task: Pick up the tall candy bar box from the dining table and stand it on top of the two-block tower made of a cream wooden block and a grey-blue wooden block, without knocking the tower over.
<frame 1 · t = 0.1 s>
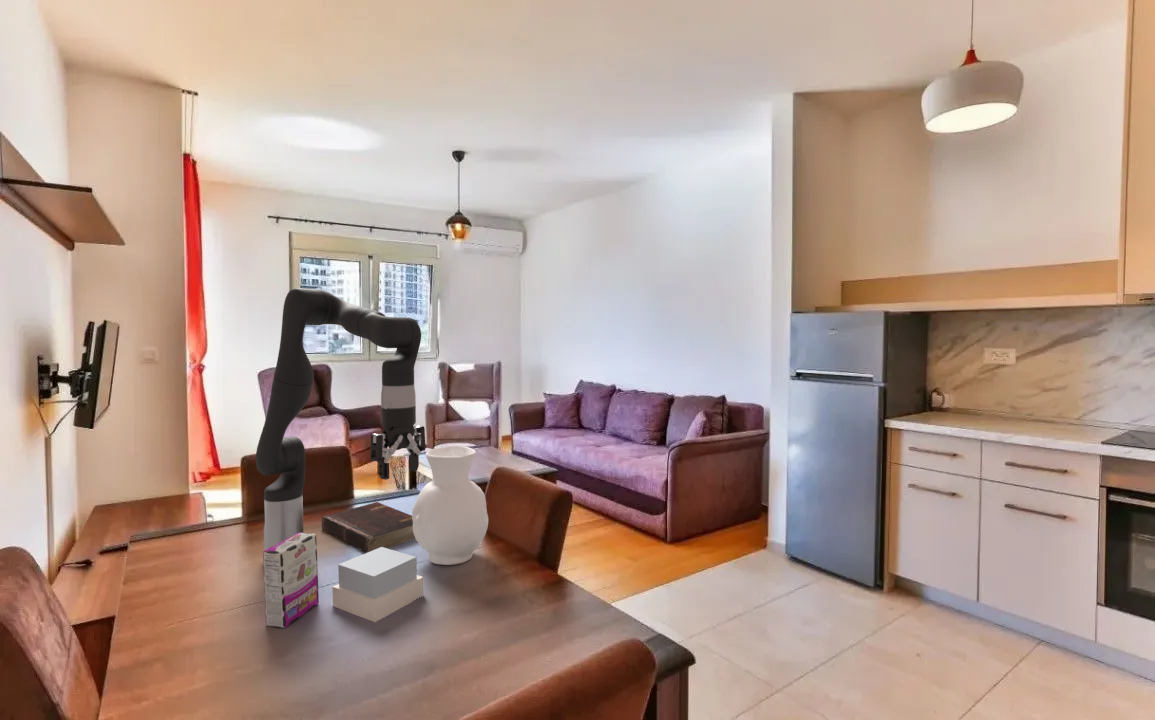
hand: (399, 474, 127), 29 cm above the table, tool pointing down, fingers open, 8 cm apart
hardback book: (373, 534, 172), on the table
vase: (451, 560, 151), on the table
candy bar box: (292, 615, 121), on the table
lower block: (379, 602, 128), on the table, touching top block
top block: (378, 581, 127), point 4 cm above the table, touching lower block
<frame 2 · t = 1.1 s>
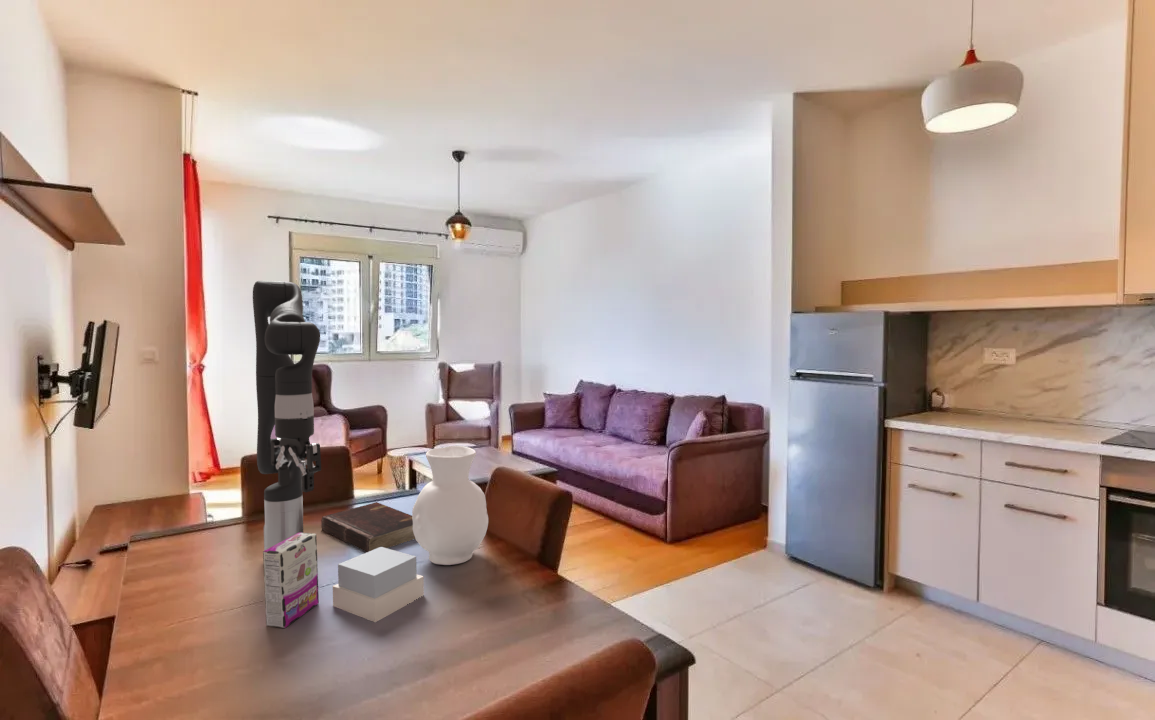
hand: (296, 488, 120), 28 cm above the table, tool pointing down, fingers open, 8 cm apart
nothing on the table moved.
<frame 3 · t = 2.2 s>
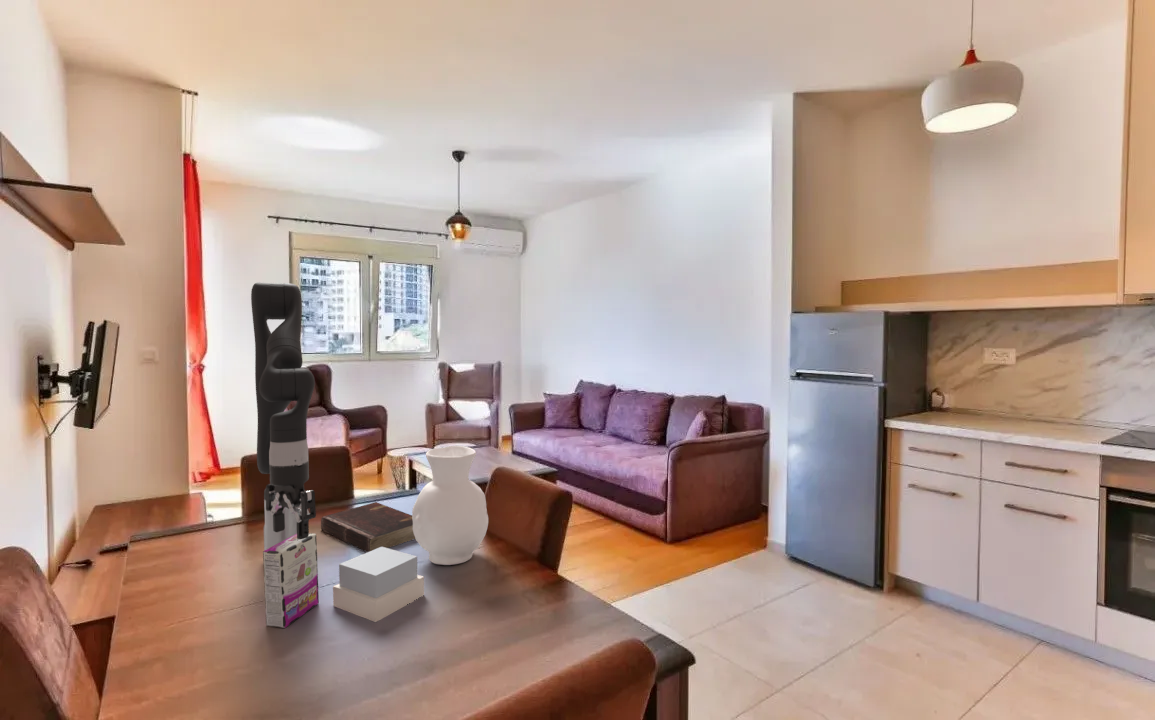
hand: (290, 534, 120), 18 cm above the table, tool pointing down, fingers open, 8 cm apart
nothing on the table moved.
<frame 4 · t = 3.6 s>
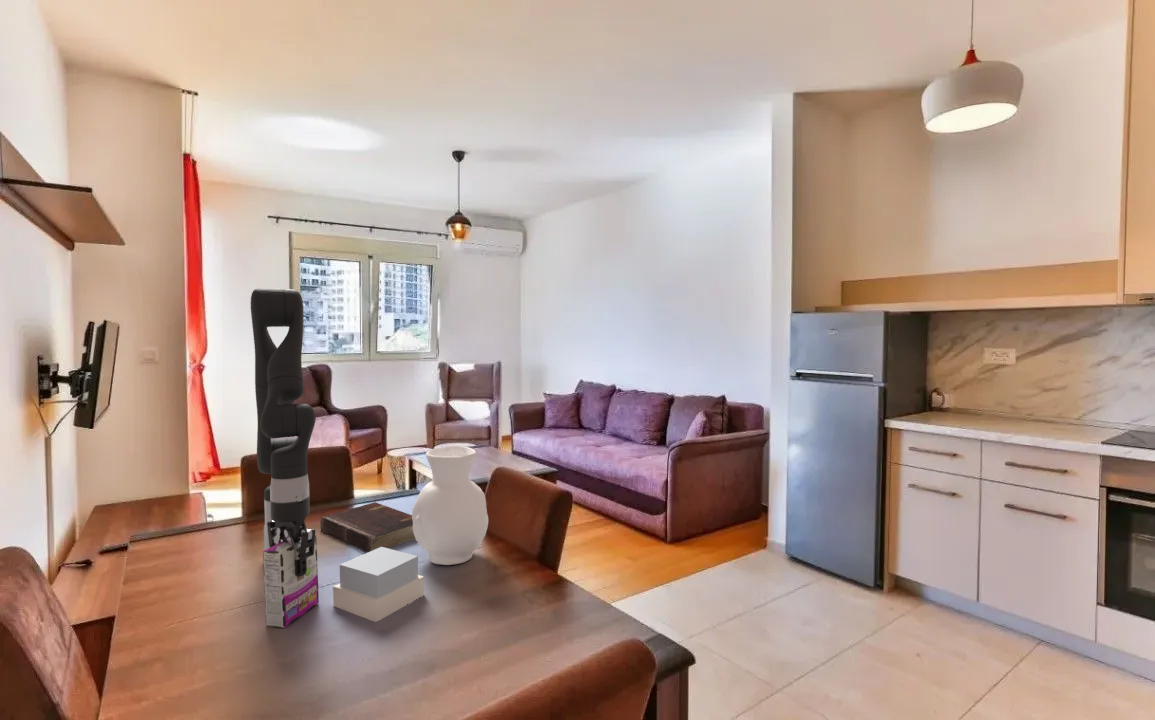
hand: (291, 571, 121), 10 cm above the table, tool pointing down, fingers closed on candy bar box, 6 cm apart
candy bar box: (292, 615, 121), on the table, touching gripper
everything else where it was.
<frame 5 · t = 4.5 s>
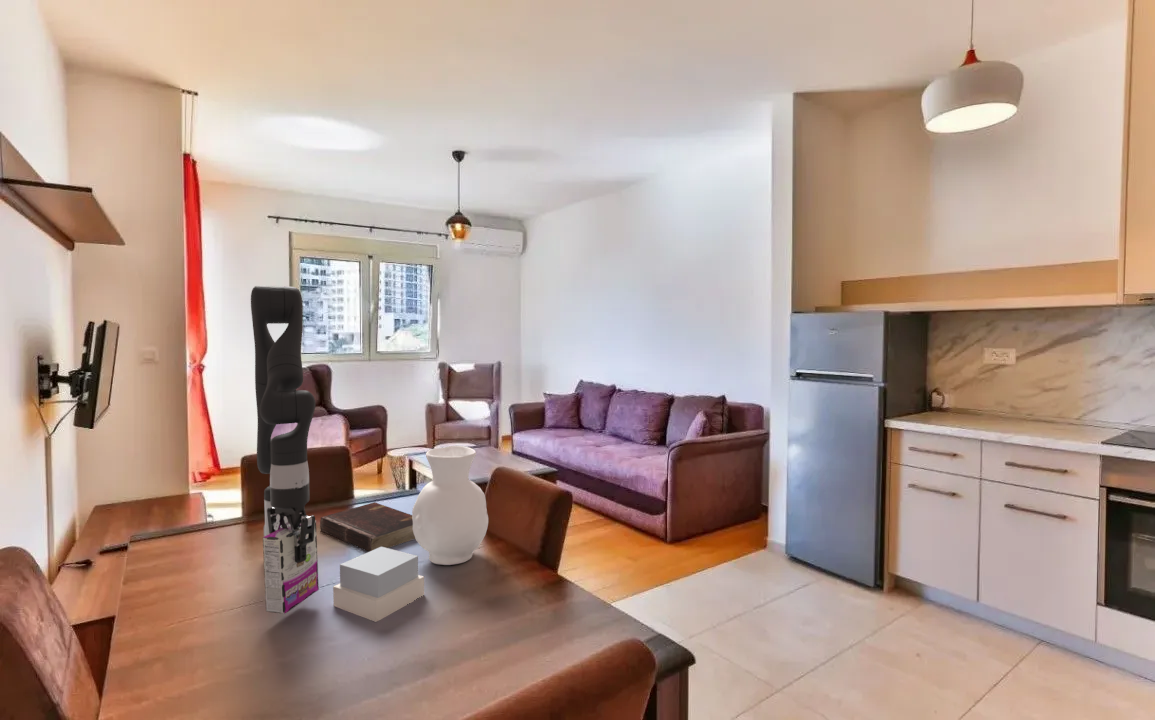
hand: (291, 557, 121), 13 cm above the table, tool pointing down, fingers closed on candy bar box, 6 cm apart
candy bar box: (292, 601, 121), point 3 cm above the table, touching gripper
everything else where it was.
when the fingers open (20 cm above the table, at t = 9.5 s): candy bar box drops 1 cm, resting on top block.
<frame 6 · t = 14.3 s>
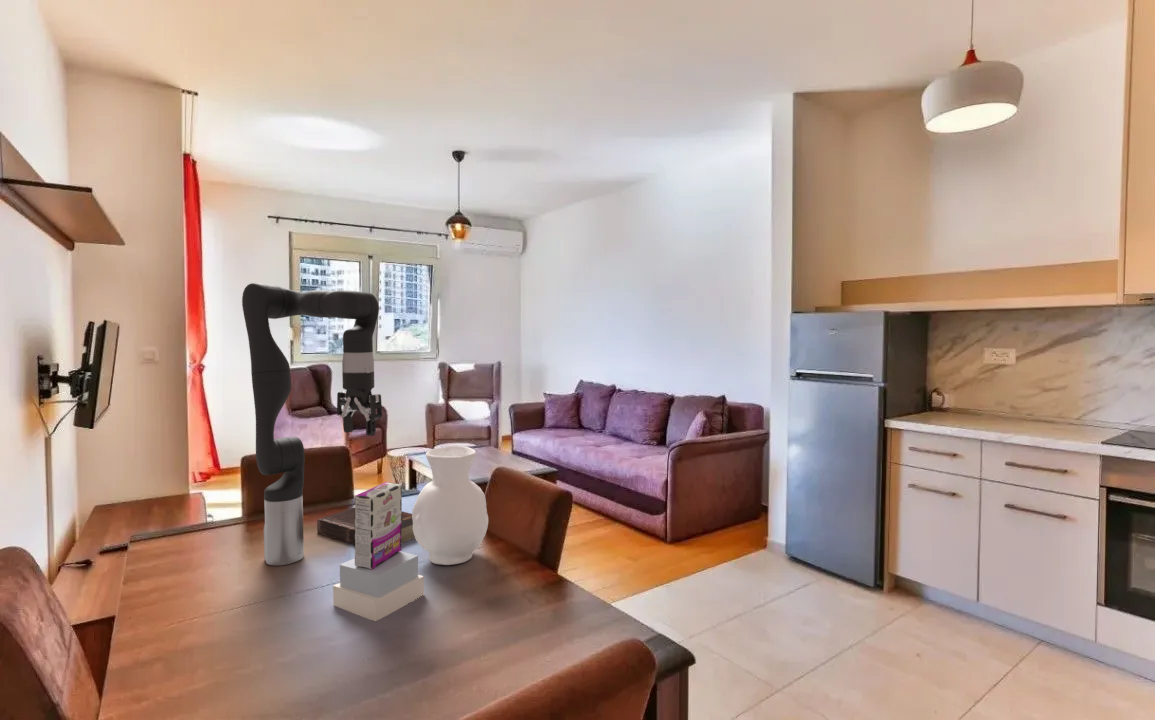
hand: (359, 433, 141), 36 cm above the table, tool pointing down, fingers open, 8 cm apart
candy bar box: (378, 559, 128), point 9 cm above the table, touching top block
top block: (380, 581, 128), point 5 cm above the table, touching candy bar box, lower block
at the end: candy bar box inside the target area on the top block (0.6 cm from its centre), point 5.0 cm above the top block's base; candy bar box tilted 3°; top block 0.3 cm off-centre on the lower block, point 5.0 cm above the lower block's base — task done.
